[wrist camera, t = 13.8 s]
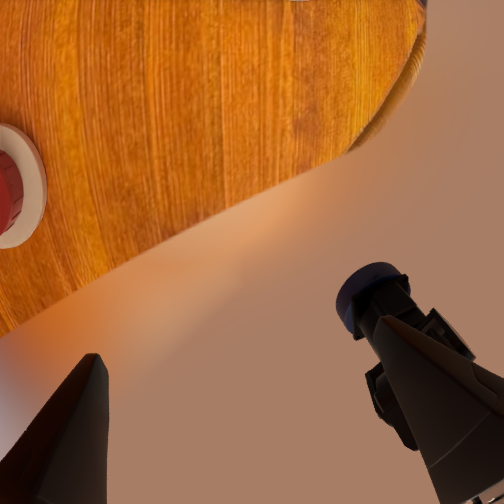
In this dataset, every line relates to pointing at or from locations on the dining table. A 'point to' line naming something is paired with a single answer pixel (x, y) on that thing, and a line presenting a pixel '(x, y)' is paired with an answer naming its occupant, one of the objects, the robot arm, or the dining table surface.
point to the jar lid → (9, 192)
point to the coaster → (24, 184)
